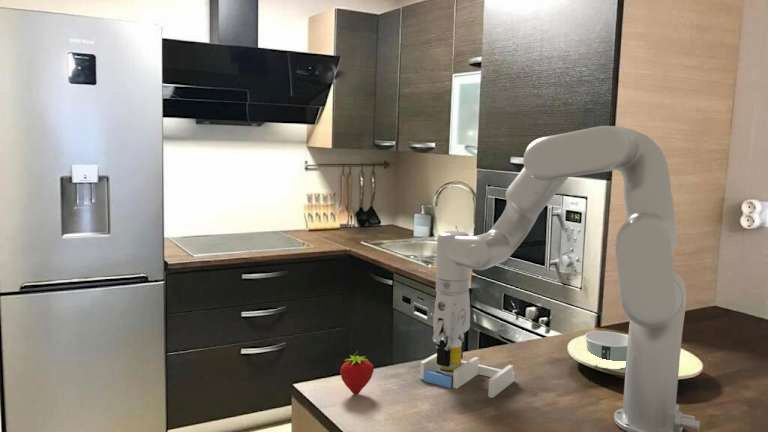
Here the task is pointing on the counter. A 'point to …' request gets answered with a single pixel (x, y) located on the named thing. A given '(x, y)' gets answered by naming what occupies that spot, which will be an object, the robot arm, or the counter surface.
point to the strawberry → (356, 373)
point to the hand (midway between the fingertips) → (449, 360)
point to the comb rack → (467, 374)
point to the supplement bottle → (452, 356)
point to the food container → (607, 345)
